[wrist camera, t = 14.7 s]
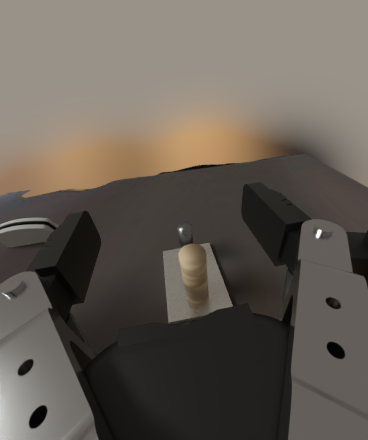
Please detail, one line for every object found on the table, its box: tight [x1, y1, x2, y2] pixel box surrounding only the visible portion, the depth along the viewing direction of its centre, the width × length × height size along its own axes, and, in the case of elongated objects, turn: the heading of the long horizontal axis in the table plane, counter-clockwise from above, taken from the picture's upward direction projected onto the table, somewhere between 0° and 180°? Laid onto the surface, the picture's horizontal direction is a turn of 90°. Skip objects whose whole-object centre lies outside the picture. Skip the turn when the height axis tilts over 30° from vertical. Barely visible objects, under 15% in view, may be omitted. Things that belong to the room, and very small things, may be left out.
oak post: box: [178, 244, 209, 307], centre depth 34 cm, size 4×4×12 cm
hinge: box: [0, 218, 59, 248], centre depth 58 cm, size 17×5×10 cm, turn 97°
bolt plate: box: [163, 221, 233, 324], centre depth 39 cm, size 12×18×11 cm, turn 8°
